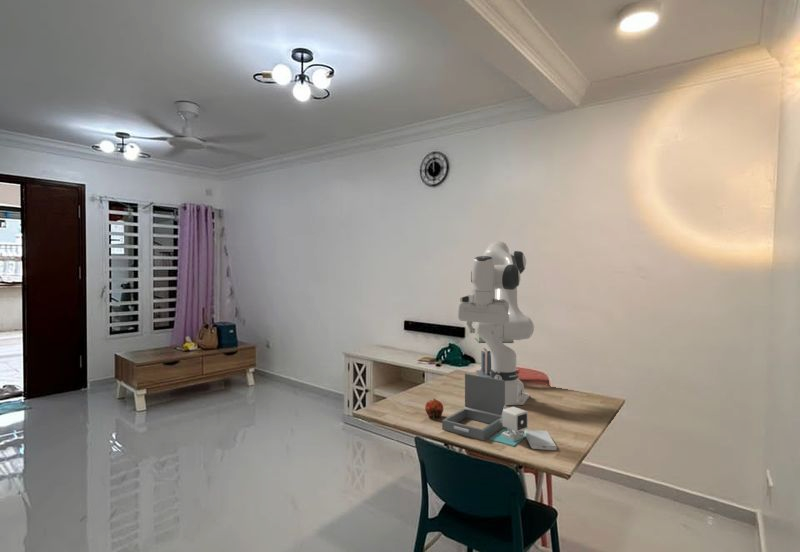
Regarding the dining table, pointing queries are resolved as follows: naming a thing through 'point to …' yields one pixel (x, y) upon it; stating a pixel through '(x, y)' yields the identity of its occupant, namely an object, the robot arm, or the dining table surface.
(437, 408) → the pomegranate
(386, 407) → the dining table surface
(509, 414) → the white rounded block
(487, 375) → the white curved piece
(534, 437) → the hard drive
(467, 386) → the equipment case
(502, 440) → the teal mat
